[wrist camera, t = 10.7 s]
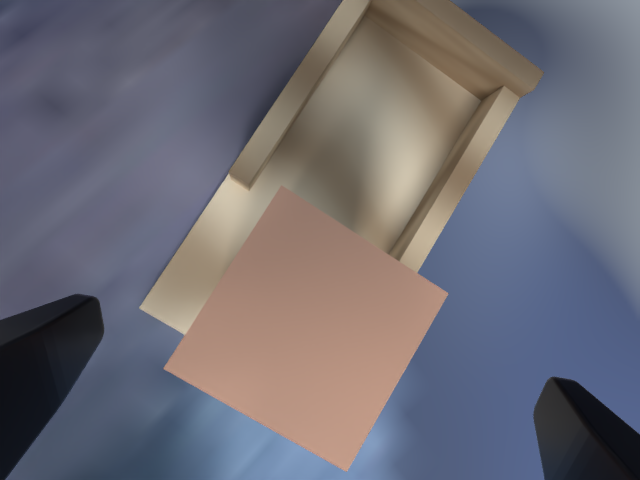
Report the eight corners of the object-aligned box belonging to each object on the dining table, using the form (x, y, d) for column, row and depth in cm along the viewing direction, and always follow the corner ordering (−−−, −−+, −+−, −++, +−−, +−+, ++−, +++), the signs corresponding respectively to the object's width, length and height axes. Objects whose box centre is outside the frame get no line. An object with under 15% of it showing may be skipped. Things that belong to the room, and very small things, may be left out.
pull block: (295, 350, 20) (346, 471, 9) (215, 302, 19) (163, 368, 8) (344, 270, 20) (448, 293, 9) (266, 221, 20) (281, 184, 9)
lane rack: (320, 410, 20) (333, 443, 17) (141, 306, 19) (116, 318, 16) (503, 102, 22) (548, 75, 19) (352, -9, 21) (371, -60, 18)
